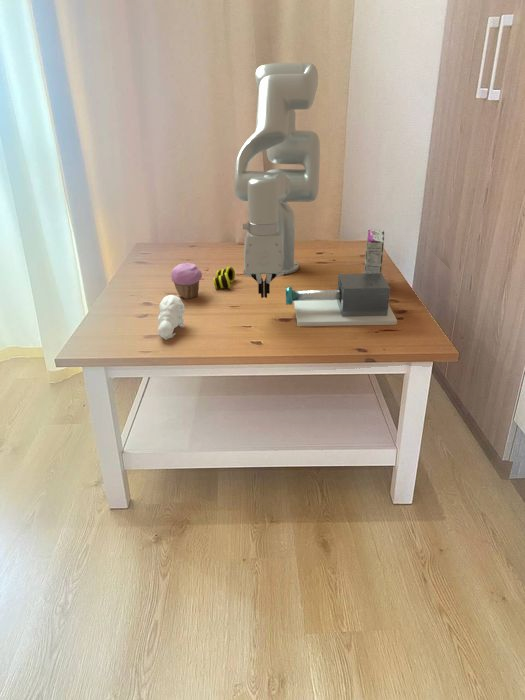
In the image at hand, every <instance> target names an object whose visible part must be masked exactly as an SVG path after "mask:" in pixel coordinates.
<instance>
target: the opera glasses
mask: <svg viewBox="0 0 525 700" xmlns="http://www.w3.org/2000/svg"><path fill="white" fill-rule="evenodd" d="M215 275H216V277H213V284H214V288H215V290H217V289H231V287H232V286H231V284H232V283H233V282H234V281H235V279H236V272H235V269H234V268H233V266H228V267H226V268H222V269H218V270H217V271H216V274H215Z"/></svg>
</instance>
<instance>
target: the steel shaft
mask: <svg viewBox="0 0 525 700" xmlns="http://www.w3.org/2000/svg"><path fill="white" fill-rule="evenodd" d="M341 294H342V291H341V290H338V289H317V290H315V289H311V290H309V289H308V290H305V289H304V290H303V289H302V290H293V286H286V287H285V305H286V306H290V305H291V306H293V304H294V301H323V300H341Z"/></svg>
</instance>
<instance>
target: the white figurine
mask: <svg viewBox="0 0 525 700" xmlns="http://www.w3.org/2000/svg"><path fill="white" fill-rule="evenodd" d="M159 310H160V312H159V315H158V317H157V324H158V328H157V334H158V335H159V337H161V338H162V339H164V340H165V341H167V340H169V339H170V338H171V339H172V338H173V337H174V336H175V335H176V332H175V333H173V332H174V329H176V328H177V327H180V328H184V327H185V324H184V318H183V317H184V313H185V304H184V303H183V301H182V299H181V298H180V297H179V296H177V295H174V294H169V295H166V296H164V297H163V298H162V300H161V301H160V303H159Z"/></svg>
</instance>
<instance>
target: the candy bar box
mask: <svg viewBox="0 0 525 700" xmlns="http://www.w3.org/2000/svg"><path fill="white" fill-rule="evenodd" d="M366 237H367V238H366V245H365V257H364V271H363V274H375V273H382V268H383V257H384V245H385V244H384V243H385V229H384V230H383V229H367V236H366Z"/></svg>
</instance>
